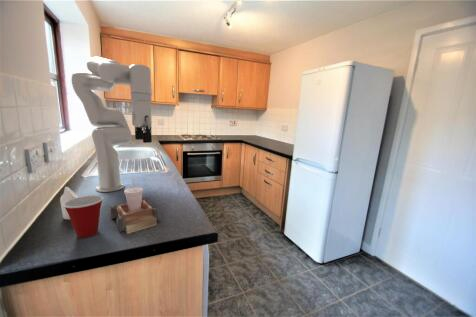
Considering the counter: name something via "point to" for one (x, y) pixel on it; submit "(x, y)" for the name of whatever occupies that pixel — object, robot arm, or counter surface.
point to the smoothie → (134, 198)
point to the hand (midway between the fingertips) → (143, 140)
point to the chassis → (135, 217)
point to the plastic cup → (84, 214)
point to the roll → (65, 197)
